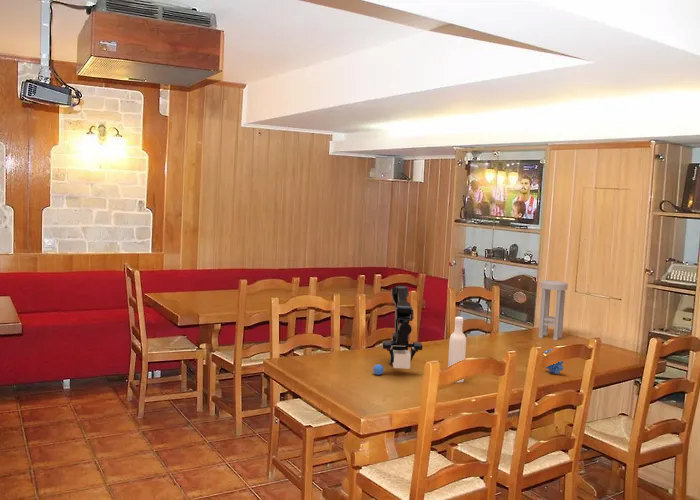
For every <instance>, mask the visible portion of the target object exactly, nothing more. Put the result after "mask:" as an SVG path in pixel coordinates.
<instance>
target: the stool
mask: <svg viewBox="0 0 700 500" xmlns="http://www.w3.org/2000/svg"><path fill="white" fill-rule="evenodd" d="M568 286H569V285H568V283H567V282H566V281H561V280H549V279H548V280H545V279H544V280H541V281H540V288H541V297H540V312H539V327H538V328H539V329H538V338H540V339H543V338H544V336H545V337H546V336H548V335H549V334H548V333H549V332H548V331H549V327H553V341H558V340H559V339H561V338H563V329H564V315H565V314H564V313H565V302H566V301H565V299H566V291H568ZM551 290H552V291H556V295H555V296H556V297H555V309H554V310H555V311H554V316H550V306H551V305H550V303H551Z"/></svg>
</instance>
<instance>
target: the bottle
mask: <svg viewBox="0 0 700 500" xmlns="http://www.w3.org/2000/svg"><path fill="white" fill-rule="evenodd" d="M454 318H455V319H454V331H453V332H452V333H451V335H450V337H449V343H448V345H449V346H448V360H447V368H448V367H449V366H451V365H453V364H455V363H457V362H459V361H462V360H464V359H465V360H466V351H467V349H466V348H467V338H466V335H465V333H464V332H463V326H464V325H463V324H464V317H463V316H456V317H454ZM464 381H465V378H464V379H462V380H459V381H457V382H455V383H457V384H458V383H459V384H460V383H464Z"/></svg>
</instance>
